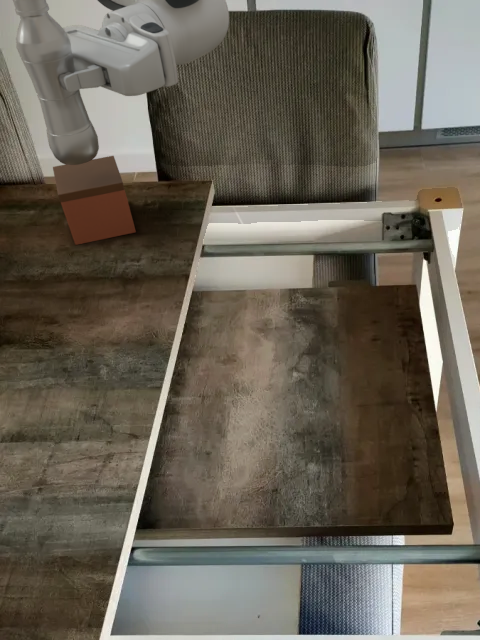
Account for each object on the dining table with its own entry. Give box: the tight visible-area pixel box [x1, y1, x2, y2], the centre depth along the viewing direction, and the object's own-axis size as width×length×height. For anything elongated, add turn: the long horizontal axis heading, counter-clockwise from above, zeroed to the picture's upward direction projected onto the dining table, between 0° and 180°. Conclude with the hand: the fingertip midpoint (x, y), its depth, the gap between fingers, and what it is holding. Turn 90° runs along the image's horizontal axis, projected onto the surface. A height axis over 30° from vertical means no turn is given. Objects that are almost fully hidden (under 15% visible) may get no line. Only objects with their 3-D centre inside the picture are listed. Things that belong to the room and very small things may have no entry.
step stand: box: [52, 155, 137, 246], centre depth 98 cm, size 9×9×8 cm
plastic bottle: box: [12, 0, 100, 165], centre depth 84 cm, size 6×7×20 cm
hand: (47, 78), depth 83 cm, fingers closed on plastic bottle, 6 cm apart
